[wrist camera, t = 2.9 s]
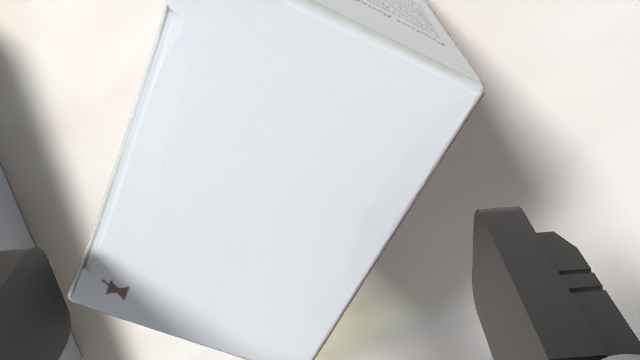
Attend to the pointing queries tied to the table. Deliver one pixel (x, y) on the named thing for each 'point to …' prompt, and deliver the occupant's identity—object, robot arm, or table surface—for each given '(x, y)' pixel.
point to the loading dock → (22, 243)
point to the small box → (271, 167)
